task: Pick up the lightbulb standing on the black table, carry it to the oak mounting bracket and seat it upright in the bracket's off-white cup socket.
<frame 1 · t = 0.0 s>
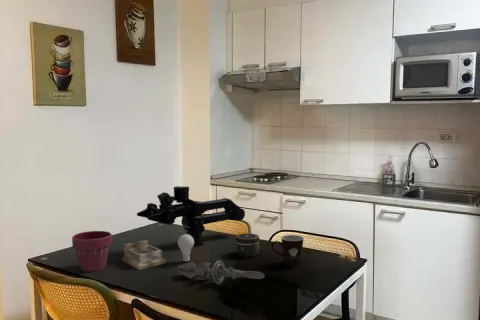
hand: (142, 216, 187), 17 cm above the table, fingers open, 9 cm apart
plant pot: (93, 268, 175), on the table
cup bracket: (144, 262, 181), on the table
lightbulb: (186, 262, 181), on the table
coffee mug: (288, 263, 180), on the table
jar: (247, 254, 191), on the table
spaceship: (219, 283, 158), on the table
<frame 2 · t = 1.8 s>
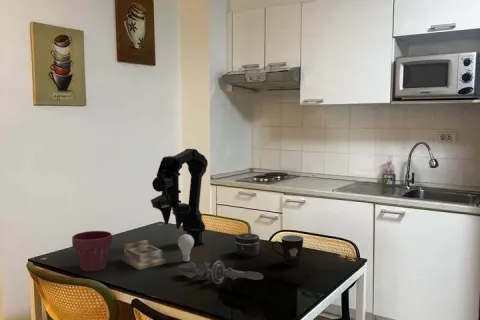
hand: (172, 226, 185), 13 cm above the table, fingers open, 9 cm apart
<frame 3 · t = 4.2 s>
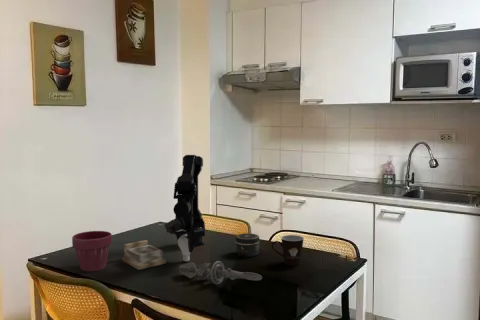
hand: (186, 250, 181), 5 cm above the table, fingers closed on lightbulb, 6 cm apart
lightbulb: (186, 262, 181), on the table, touching gripper
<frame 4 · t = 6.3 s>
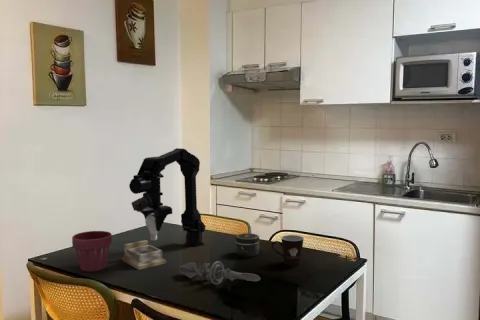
hand: (153, 229, 179), 13 cm above the table, fingers closed on lightbulb, 6 cm apart
lightbulb: (154, 241, 180), point 9 cm above the table, touching gripper
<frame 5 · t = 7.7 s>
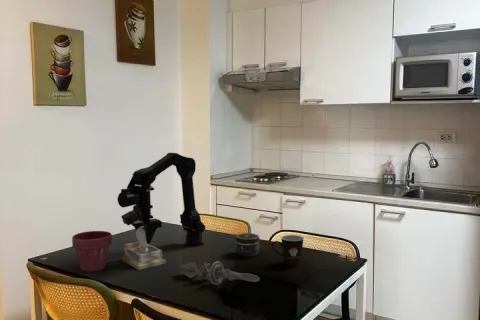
hand: (144, 242, 180), 8 cm above the table, fingers closed on lightbulb, 6 cm apart
lightbulb: (144, 253, 180), point 3 cm above the table, touching gripper
when the fingers open (8 cm above the table, at t = 8.6 s): lightbulb drops 1 cm, resting on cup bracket.
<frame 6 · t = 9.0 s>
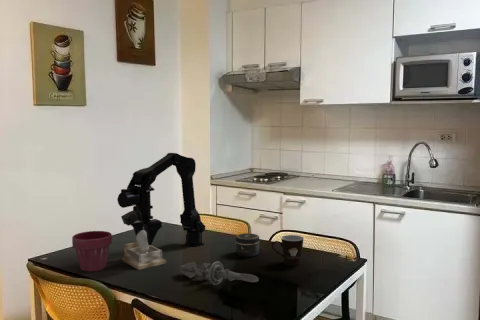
hand: (144, 242, 180), 8 cm above the table, fingers open, 9 cm apart
lightbulb: (144, 257, 181), point 2 cm above the table, touching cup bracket
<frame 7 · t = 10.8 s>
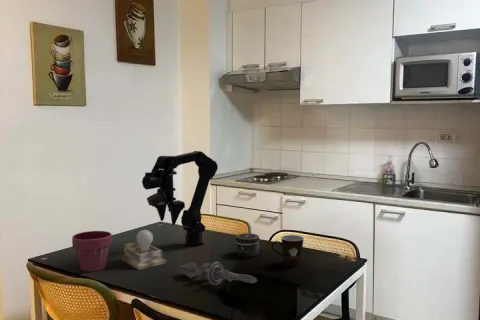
hand: (167, 222, 193), 13 cm above the table, fingers open, 9 cm apart
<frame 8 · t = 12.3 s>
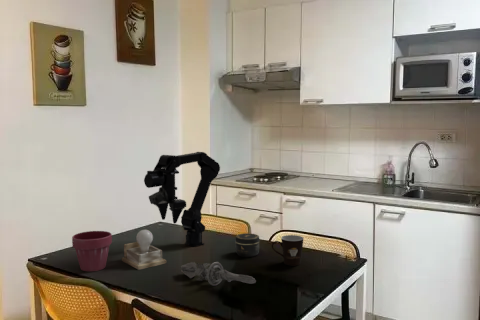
hand: (169, 221, 194), 13 cm above the table, fingers open, 9 cm apart
at the end: lightbulb 0.1 cm off-centre on the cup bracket, point 1.8 cm above the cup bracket's base; lightbulb tilted 1°; the gripper is holding nothing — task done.
